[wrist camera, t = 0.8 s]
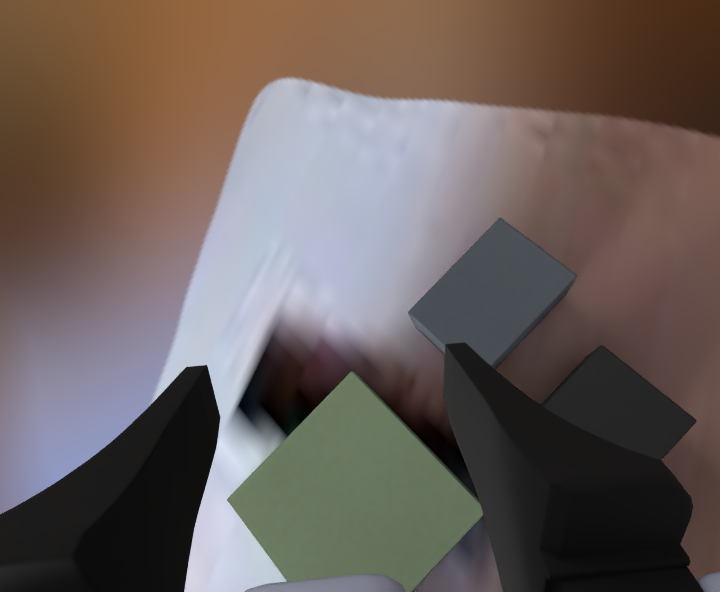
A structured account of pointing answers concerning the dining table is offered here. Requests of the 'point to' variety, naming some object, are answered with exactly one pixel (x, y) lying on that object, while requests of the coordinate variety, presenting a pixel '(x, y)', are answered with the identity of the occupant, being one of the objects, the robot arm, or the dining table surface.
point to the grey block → (493, 295)
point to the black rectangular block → (619, 406)
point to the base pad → (355, 495)
